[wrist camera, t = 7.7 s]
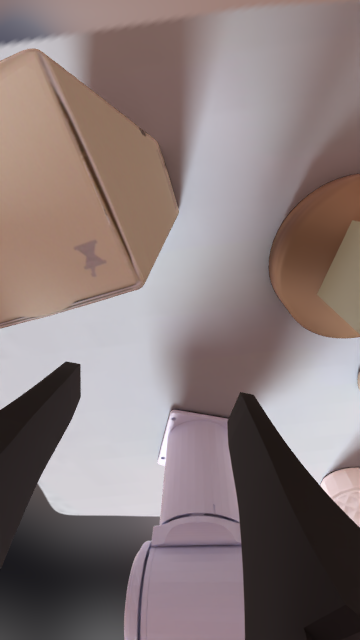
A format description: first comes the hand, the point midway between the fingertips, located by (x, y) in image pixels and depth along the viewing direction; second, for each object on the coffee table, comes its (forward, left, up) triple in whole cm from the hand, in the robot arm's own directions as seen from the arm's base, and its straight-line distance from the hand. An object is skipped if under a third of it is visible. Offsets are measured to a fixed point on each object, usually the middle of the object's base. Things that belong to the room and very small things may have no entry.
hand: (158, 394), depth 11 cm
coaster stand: (+6, -11, -10) cm, 16 cm away
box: (+7, +4, -10) cm, 13 cm away
